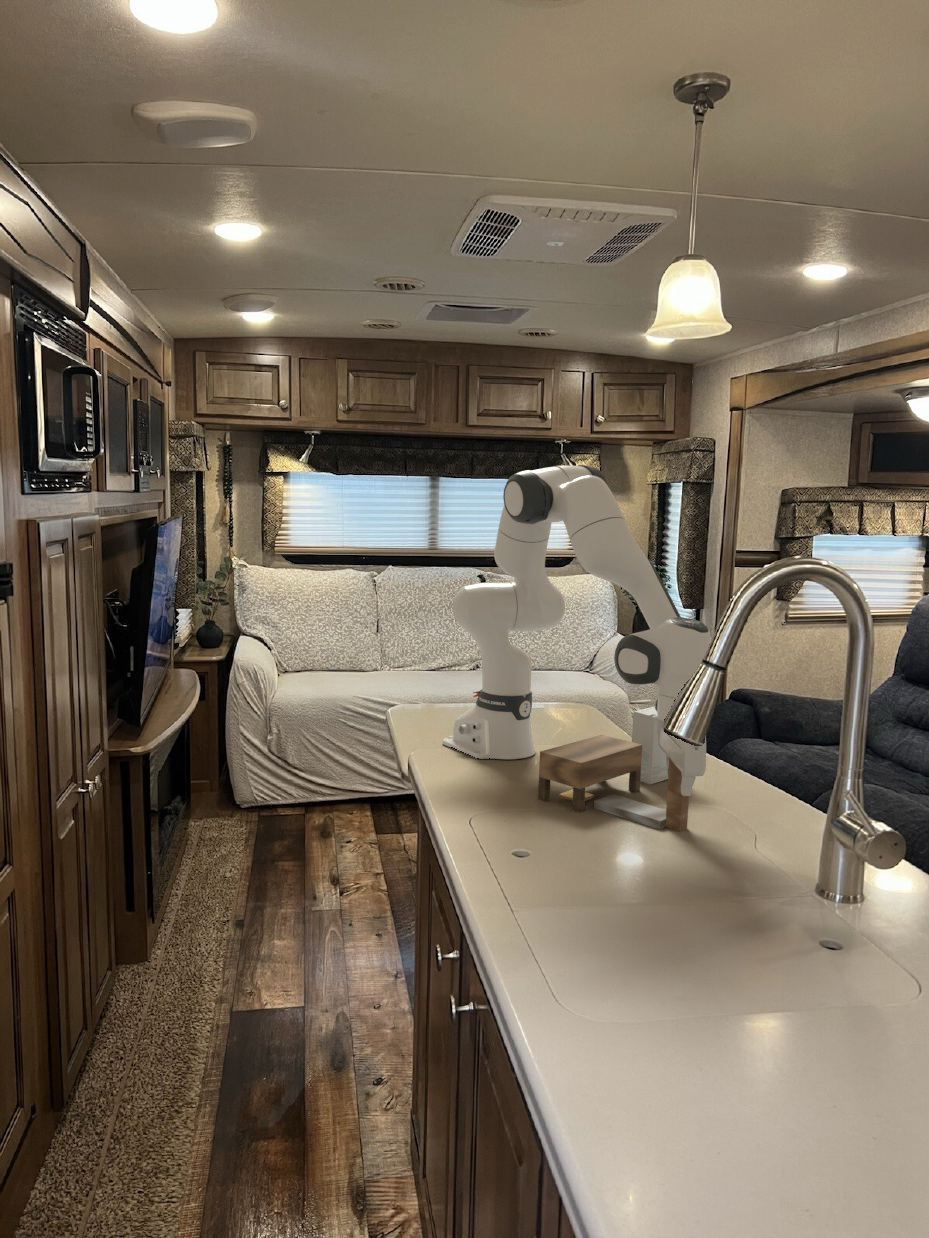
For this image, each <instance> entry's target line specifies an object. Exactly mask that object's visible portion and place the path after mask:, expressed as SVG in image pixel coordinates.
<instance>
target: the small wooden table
mask: <svg viewBox="0 0 929 1238" xmlns="http://www.w3.org/2000/svg"><path fill="white" fill-rule="evenodd" d="M641 759H642V745H641V744H637V743H633V742H632V741H629V740H624V739H619V738H616V737H611V736H608V735H604V734H601V735H597V736H592V737H589V738H585V739H581V740H578V741H573V742H570V743H567V744H563V745H560V746H556V747H555V746H554V747H551V748H547V749H544V750H541V751H539V762H538V763H539V764H538V767H539V768H538V771H539V772H538V789H537V800H540V801H543V802H546V801H549V800H551V782H556V783H558V784H562V785H564V786H569V787H572V789H573V801H572V808H571V810H572V811H574V812H577V813H581V812H584V811H585V804H586V801H585V792H586V788H588V787H591V786H594V785H597V784H599V783H600V784H601V783H604V782H605V781H609V780H611V779H614V778H617V777H621V776H624V775H627V774H629V775H628V776H629V778H628V791H630V792H632V793H636V792H640V791H641V781H640V777H641Z"/></svg>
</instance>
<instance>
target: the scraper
mask: <svg viewBox="0 0 929 1238" xmlns="http://www.w3.org/2000/svg"><path fill="white" fill-rule="evenodd" d="M681 774H682V772H681V771H680V770H679V769H678V767H677V766H676V765H675V764H674V763H673V762H672V761H671V759H670V757H669V773H668V779H667V792H666V793H667V794H666V809H664V808H661V807H658V806H654V805H651V804H648V803H644V802H640V801H637V800H633V799H631V798H627V797H623V796H620V795H616V794H614V793H613V794H610V795H607V796H605V797H602V798H599V799H596V800H594V802H593V803H594V804H593V809H595V810H598V811H601V812H603V813H604V812H605V813H607V814H611V815H613V816H617V817H620V818H623V819H627V820H629V821H632V822H635V823H639V824H642V825H645V826H649V827H652V828H654V829H658V830H661V829H663V828H668V829H671V830H674V831H678V832H681V831H684V830H686V829H688V823H689V820H688V819H689V803H690V796H683V795H682V794H681V793H680V784H681V782H682V775H681Z"/></svg>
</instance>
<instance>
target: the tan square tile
mask: <svg viewBox="0 0 929 1238" xmlns="http://www.w3.org/2000/svg"><path fill="white" fill-rule="evenodd" d="M558 798H561V799H566V800H569V801H572V802H573V788H572V789H570V790H567V791H563V792H561V793H558ZM592 798H595V794H592V793H589V792H586V791H585V802H586V801H588V800H590V799H592Z"/></svg>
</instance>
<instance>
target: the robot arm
mask: <svg viewBox="0 0 929 1238" xmlns="http://www.w3.org/2000/svg"><path fill="white" fill-rule="evenodd" d="M615 497H616V496H614V494H613V492H612V491H611V489H610V487H609V486H608V483H607V480H606V477H605V475H604V473H603V472H602V471H601V470H600V469H599V468H597V467H595V466H591V465H588V464H578V465H553V466H548V467H543V468H538V469H533V470H530V469H527V470H522V471H518V472H517V473H514V474H512V475H511V476H510V477H509V478H508V480H506V483H505V486H504V489H503V497H502V498H503V504H504V505H503V508H502V511H501V515H500V519H499V524H498V528H497V533H496V539H495V547H494V552H493V557H494V560H495V561H494V562H495V563H496V566H497V567H498V568H499V569H500V570H501V571H503V572H504V573H505V574H507V575H509V576H511V577H513V581H510V582H479V583H474V584H469V585H465V586H462V587H460V589H459V590H458V591H457V593H456V594H455V596H454V599H453V603H452V612H453V616H454V618H455V621H456V622H457V624H458V625H459V626H460V627H461V628H462V629H463V630H465V631H466V632H467V633H468V634H469V635H470V637H472V639H473V640H474V642H475V643H476V645H477V647H478V650H479V653H480V656H481V657H480V658H481V667H482V668H481V670H482V685H481V689H480V690H478V691H473V692H472V693H473V696H472V697H474V698H477V699H476V701H475V705H473V706H472V707H470V708H469V709H468V710H466V711H464V713H462V714H460V715H459V716H458V717H457V718H456V720H455V721H454V724H453V730H452V735H448V736H446V737H445V738H443V739H442V745H444V746H446V747H448V748H451V747H453V748H455V749H459V750H461V751H463V752H464V753H463V754H465V753H468V754H469V755H471V756H470V757H472V756H474V757H475V758H474V757H473V758H474V759H477V758H479V759H478V760H480V759H481V760H484V759H489V758H490V759H493V760H495V759H496V760H518V759H526V758H529V757H532V756H534V755H535V754H536V748H535V745H534V740H533V732H532V721H531V720H532V719H531V714H532V707H533V692H532V690H531V689H532V687H531V686H532V683H531V682H532V661H531V658H530V656H529V654H528V653H527V652H526V651H524V650H523V649H521V648H520V647H518V646H516V645H514V644H511V643H510V640H509V639H510V638H509V632H538V631H545V630H547V629H552V628H556V627H557V626H558V625H559V624H560V623H561V621H562V619H563V617H564V614H565V611H566V605H565V604H566V603H565V598H564V595H563V594H562V592H561V591H560V590H559V589H558V588H557V586H555V585H554V584H553V583H552V582H551V581H550V579H549V578H548V575H547V571H546V556H547V550H548V545H549V538H550V534H551V529H552V523H559V522H563V524H564V526H565V528H566V529H565V530H566V532H567V536H568V538H569V541H570V543H571V544H570V545H571V547H572V550H573V552H574V555H575V557H576V559H577V560H578V562H579V564H580V565H581V567H582V568H583V569H584V570H585V571H586V572H587V573H589V574H590V575H592V576H595V578H599V579H601V580H605V581H608V582H610V583H612V584H614V585H616V586H619V587H621V588H622V589H624V590H625V591H627V592H628V593H629V594H630V595H631V596H632V597H633V599H634V600H635V601H636V603H637V606H638V607H639V609H640V612H641V613H642V615H643V618H644V619H645V621H646V623H647V625H648V627H649V629H647V630H642V631H638V632H634V633H631V634H628V635H624V636H623V637H622V638H621V639H620V640H619V641H618V643H617V644H616V647H615V650H614V656H613V659H614V667H615V669H616V671H617V674H618V675H619V677H621V679H622V680H623V681H624V682H626V683H628V684H631V685H637V686H647V685H656V686H657V687H658V694H657V695H658V697H657V698H655V700H654V706H655V710H656V711H657V732H658V743H659V747H660V748H661V749H662V750H663V751H664V753H665V754H666V764H667V777H668V773H669V757H670V759H671V761H672V762H673V763H674V764H675V765H676V766H677V767H678V769H679V770H680V771H681V772H682V774H681V775H682V782H681V784H680V793H681V794H682V795H683V796H689V797H690V796H692V794H693V786H694V784H695V780H696V777H704V775H705V773H706V770H707V739H706V736H705V743H704V744H703V745H702V746H694V745H691V744H689V743H686V742H684V741H682V740H681V739H677V738H675V737H674V736H671V735H668V734H667V733H665V732H664V719H665V718H666V716H667V714H668V712H669V711H670V709H671V706H672V705H673V703H674V700H675V699H676V698H677V696H678V693H679V692H680V691H681V689H682V688H683V687H684V684H686V682H687V681H688V680H689V679H690V678H691V676H692V674H694V672H695V671H696V669H697V667H698V666H699V664H701V662H702V659H703V658H704V656H705V654H706V651H707V650H708V647H709V644H710V643H711V641H712V636H711V632H710V628H709V627H708V626H707V625H705V624H704V623H703V622H701V621H699V620H698V619H697V620H696V619H694V618H689V617H688V618H687V617H683V616H681V614H680V613H679V611H678V609H677V607H676V605H675V603H674V601H673V599H672V597H671V595H670V594H669V592H668V590H667V587H666V585H665V583H664V582H663V580H662V578H661V576H660V575H659V572H658V571H657V569H656V567H655V566H654V564H653V563H652V562H651V560H650V559H649V557H647V555H646V554H645V553H644V552H643V550H642V549H641V548H640V546H639V544H638V542H637V540H636V539H635V538H634V536H633V534H632V532H631V530H630V529H629V525H628V524H627V521H626V519H625V517H624V514H623V511H622V509H621V507H620V506H619V503H618V501H617V499H616V498H615ZM453 748H452V749H453ZM455 749H454V750H455ZM469 755H468V756H469Z"/></svg>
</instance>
